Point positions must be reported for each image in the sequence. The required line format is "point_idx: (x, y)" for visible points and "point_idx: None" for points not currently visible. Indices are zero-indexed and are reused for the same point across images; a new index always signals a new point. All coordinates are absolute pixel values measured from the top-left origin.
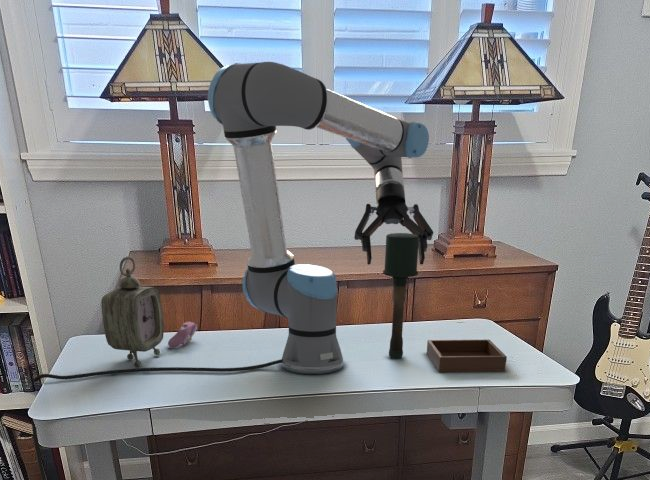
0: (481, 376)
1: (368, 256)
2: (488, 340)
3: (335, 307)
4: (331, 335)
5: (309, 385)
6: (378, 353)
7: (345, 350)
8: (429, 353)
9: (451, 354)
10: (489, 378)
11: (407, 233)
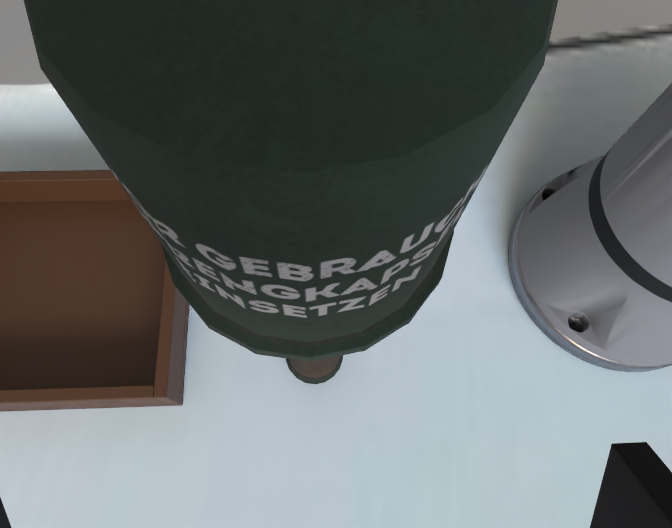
0: (73, 160)
1: (660, 467)
2: None
3: (649, 120)
4: (598, 162)
5: (585, 103)
6: (376, 419)
7: (511, 465)
8: (181, 347)
9: (91, 357)
10: (56, 143)
11: (157, 102)
